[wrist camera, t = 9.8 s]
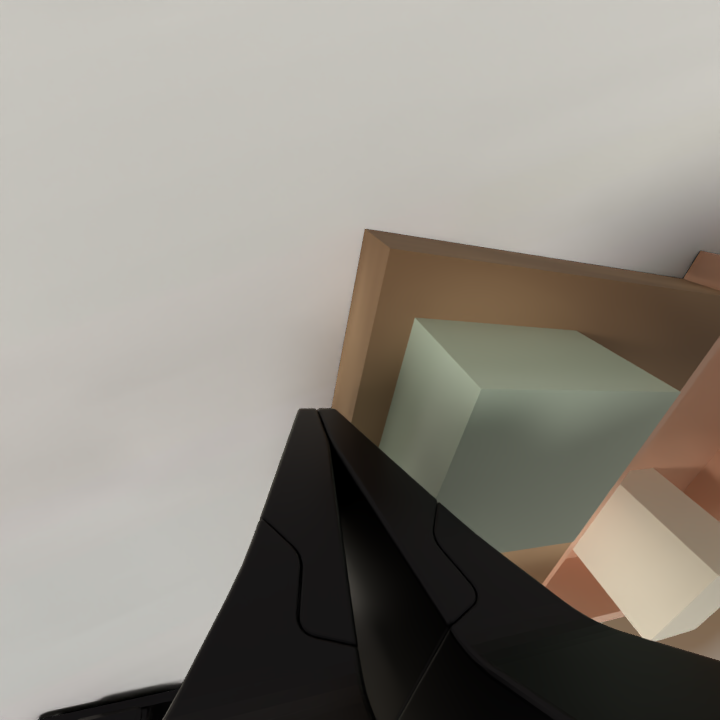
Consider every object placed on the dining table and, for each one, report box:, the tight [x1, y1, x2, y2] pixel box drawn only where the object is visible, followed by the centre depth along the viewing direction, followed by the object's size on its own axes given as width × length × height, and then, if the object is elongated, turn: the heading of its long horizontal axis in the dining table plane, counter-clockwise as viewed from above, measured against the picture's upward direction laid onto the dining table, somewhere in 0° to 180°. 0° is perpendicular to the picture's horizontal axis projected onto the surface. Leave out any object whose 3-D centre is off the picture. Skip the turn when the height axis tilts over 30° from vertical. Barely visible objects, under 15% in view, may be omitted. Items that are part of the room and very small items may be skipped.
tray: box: [542, 251, 720, 623], centre depth 17 cm, size 18×10×4 cm, turn 169°
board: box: [332, 229, 720, 584], centre depth 14 cm, size 16×12×2 cm
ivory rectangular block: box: [573, 468, 720, 641], centre depth 17 cm, size 5×5×3 cm
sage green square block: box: [379, 318, 681, 553], centre depth 9 cm, size 5×5×3 cm
